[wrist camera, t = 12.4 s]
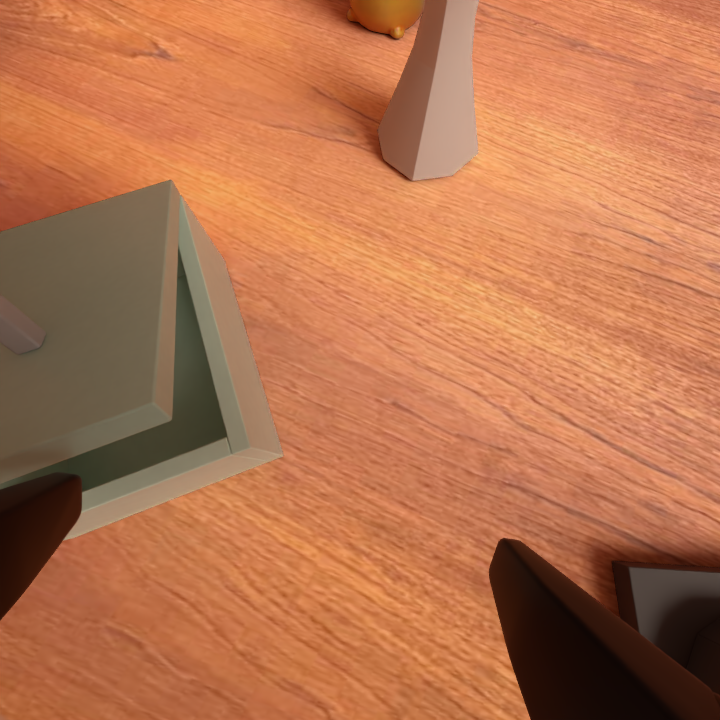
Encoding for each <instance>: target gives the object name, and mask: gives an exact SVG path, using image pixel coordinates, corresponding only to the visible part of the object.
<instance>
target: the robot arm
mask: <svg viewBox="0 0 720 720" xmlns="http://www.w3.org/2000/svg"><path fill="white" fill-rule="evenodd" d="M81 511H82V479H81V477H80V476H79V475H77V474H71V473H65V472H55V473H51V474H48V475H45V476H42V477H38V478H35V479H32V480H29V481H26V482H22V483H19V484H16V485H13V486H9V487H6V488H3V489H0V620H1V619H2V618H3V617H4V615H5V614H6V613H7V612H8V611H9V610H10V608H11V607H12V606H13V605H14V604H15V603H16V601H17V600H18V599H19V598H20V597H21V595H22V594H23V593H24V592H25V590H26V589H27V588H28V587H29V585H30V584H31V583H32V581H33V580H34V579H35V577H36V576H37V575H38V573H39V572H40V571H41V569H42V568H43V567H44V565H45V564H46V563H47V561H48V560H49V559H50V557H51V556H52V555H53V553H54V552H55V551H56V549H57V548H58V547H59V545H60V544H61V542H62V541H63V540H64V538H65V537H66V536H67V534H68V533H69V532H70V530H71V529H72V528H73V526H74V525H75V524H76V522H77V521H78V519H79V517H80V514H81ZM489 579H490V583H491V587H492V591H493V595H494V599H495V603H496V607H497V611H498V615H499V619H500V623H501V627H502V631H503V635H504V639H505V643H506V646H507V650H508V653H509V657H510V660H511V663H512V666H513V669H514V672H515V675H516V678H517V681H518V684H519V687H520V690H521V693H522V696H523V699H524V701H525V704H526V707H527V710H528V713H529V716H530V719H531V720H720V695H719V694H717V693H712V691H711V689H710V688H709V687H708V686H707V685H705V684H704V683H703V682H702V681H700V680H699V679H698V678H696V677H695V676H694V675H693V674H691V673H690V672H689V671H687V670H686V669H685V668H684V667H682V666H681V665H680V664H678V663H677V662H676V661H675V660H673V659H672V658H671V657H669V656H668V655H667V654H666V653H664V652H663V651H662V650H660V649H659V648H658V647H656V646H655V645H654V644H653V643H651V642H650V641H649V640H647V639H646V638H645V637H644V636H642V635H641V634H640V633H638V632H637V631H636V630H635V629H633V628H632V627H631V626H629V625H628V624H627V623H626V622H624V621H623V620H622V619H620V618H619V617H618V616H617V615H615V614H614V613H613V612H611V611H610V610H609V609H607V608H606V607H605V606H604V605H602V604H601V603H600V602H598V601H597V600H596V599H595V598H593V597H592V596H591V595H589V594H588V593H587V592H586V591H584V590H583V589H582V588H580V587H579V586H578V585H577V584H575V583H574V582H573V581H571V580H570V579H569V578H568V577H566V576H565V575H564V574H562V573H561V572H560V571H559V570H557V569H556V568H555V567H553V566H552V565H551V564H550V563H548V562H547V561H546V560H544V559H543V558H542V557H540V556H539V555H538V554H537V553H535V552H534V551H533V550H531V549H530V548H529V547H528V546H526V545H525V544H524V543H522V542H521V541H519V540H514V539H507V538H503V539H501V540H500V541H499V542H498V544H497V547H496V550H495V553H494V556H493V559H492V562H491V565H490V568H489Z"/></svg>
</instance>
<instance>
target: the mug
mask: <svg viewBox="0 0 720 720" xmlns="http://www.w3.org/2000/svg"><path fill="white" fill-rule="evenodd" d="M424 1H425V0H349V2H350V9H349V11H348V12H347V18H348V19H349V20H350V21H354V22H359V23H360V24H361V25H363V26H364V27H366V28H367V29H369V30H372V31H375V32H379V33H386V34H390V35H391V36H392V37H394V38H397V39H399V38H401V37H403V35H404V31H405V30H406V29H407V28H409V27H411V26H412V25H413V24H414V23H415V22H416V21H417V20H418V19H419V18H420V16H421V14H422V12H423V9H424Z"/></svg>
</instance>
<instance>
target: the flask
mask: <svg viewBox="0 0 720 720" xmlns="http://www.w3.org/2000/svg"><path fill="white" fill-rule="evenodd" d="M478 2H479V0H425V1H424V9H423V12H422V16H421V20H420V24H419V27H418V31H417V35H416V39H415V43H414V46H413V48H412V51H411V53H410V56H409V58H408V61H407V63H406V65H405V68H404V70H403V73H402V75H401V78H400V80H399V82H398V85H397V87H396V90H395V92H394V94H393V96H392V98H391V100H390V103H389V105H388V107H387V109H386V111H385V114H384V116H383V118H382V120H381V123H380V125H379V127H378V130H377V131H378V136H379V141H380V146H381V151H382V156H383V159H384V160H385V161H386V162H388V163H389V164H390V165H392V166H393V167H394V168H396V169H397V170H398V171H400V172H401V173H402V174H404V175H405V176H406V177H408V178H409V179H410V180H412V181H416V180H423V179H431V178H439V177H447V176H453V175H454V174H455V173H456V172H457V171H458V170H460V169H461V168H462V167H463V166H464V165H465V164H467V163H468V162H469V161H470V160H471V159H472V158H474V157H475V156H476V155H477V154H478V140H477V129H476V118H475V107H474V88H473V68H472V50H473V38H474V26H475V16H476V11H477V7H478Z"/></svg>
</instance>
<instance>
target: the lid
mask: <svg viewBox="0 0 720 720" xmlns="http://www.w3.org/2000/svg"><path fill="white" fill-rule="evenodd" d="M179 208H180V193H179V192H178V190H177V188H176V186H175V184H174V183H173V181H172V180H168V181H165V182H161V183H158V184H155V185H152V186H148V187H145V188H142V189H138V190H135V191H132V192H129V193H125V194H122V195H119V196H116V197H112V198H109V199H106V200H102V201H99V202H96V203H93V204H89V205H86V206H83V207H80V208H76V209H73V210H70V211H67V212H63V213H60V214H57V215H53V216H50V217H47V218H44V219H40V220H37V221H34V222H31V223H27V224H24V225H21V226H17V227H14V228H11V229H8V230H4V231H1V232H0V484H1V483H3V482H6V481H9V480H12V479H14V478H17V477H20V476H22V475H25V474H28V473H31V472H33V471H36V470H39V469H41V468H44V467H47V466H50V465H52V464H55V463H58V462H60V461H63V460H66V459H69V458H71V457H74V456H77V455H79V454H82V453H85V452H87V451H90V450H93V449H96V448H98V447H101V446H104V445H106V444H109V443H112V442H115V441H117V440H120V439H123V438H125V437H128V436H131V435H134V434H136V433H139V432H142V431H144V430H147V429H150V428H153V427H155V426H158V425H161V424H163V423H166V422H169V421H171V420H172V410H173V381H174V353H175V324H176V295H177V266H178V237H179Z"/></svg>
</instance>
